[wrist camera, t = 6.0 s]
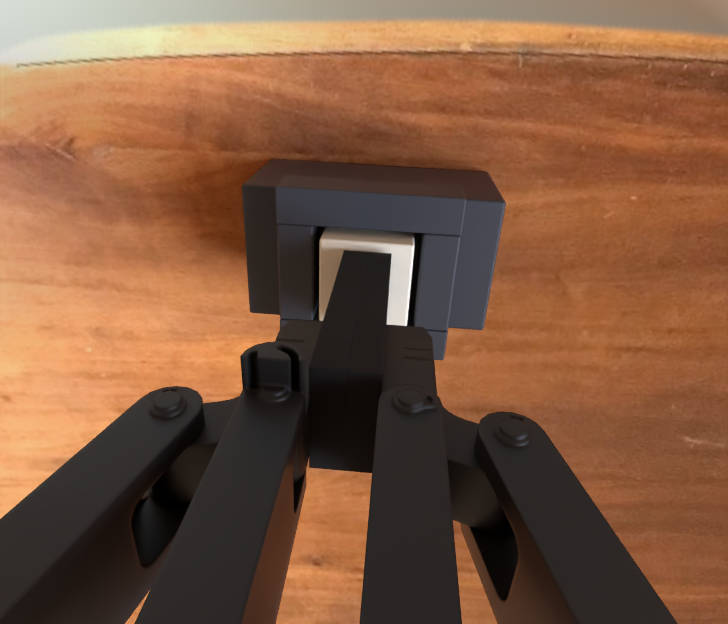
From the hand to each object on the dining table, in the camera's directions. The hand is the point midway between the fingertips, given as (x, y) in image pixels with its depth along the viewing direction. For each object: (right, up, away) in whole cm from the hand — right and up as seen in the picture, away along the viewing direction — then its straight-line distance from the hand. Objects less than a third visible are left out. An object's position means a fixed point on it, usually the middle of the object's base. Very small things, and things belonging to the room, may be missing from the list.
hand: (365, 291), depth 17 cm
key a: (0, +1, +2) cm, 2 cm away
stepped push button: (0, +3, +6) cm, 7 cm away
